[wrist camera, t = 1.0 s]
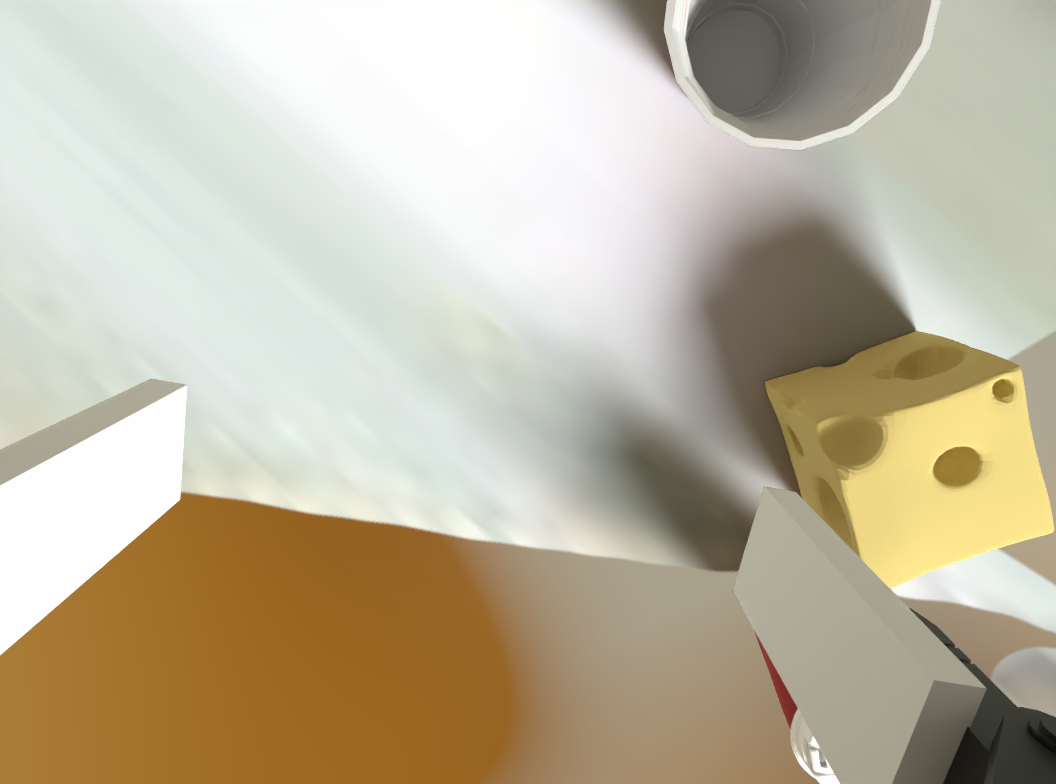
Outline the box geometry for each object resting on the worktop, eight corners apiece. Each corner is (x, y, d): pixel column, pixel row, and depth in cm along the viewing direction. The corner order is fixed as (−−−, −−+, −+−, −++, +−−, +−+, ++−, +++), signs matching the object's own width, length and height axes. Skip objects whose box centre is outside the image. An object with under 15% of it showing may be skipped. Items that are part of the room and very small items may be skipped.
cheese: (758, 380, 44) (817, 431, 34) (926, 320, 42) (1038, 356, 33) (800, 518, 46) (867, 602, 37) (961, 466, 45) (1073, 539, 35)
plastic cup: (624, -31, 37) (658, -133, 26) (824, -59, 37) (951, -177, 25) (638, 174, 40) (674, 165, 29) (824, 152, 40) (937, 133, 28)
